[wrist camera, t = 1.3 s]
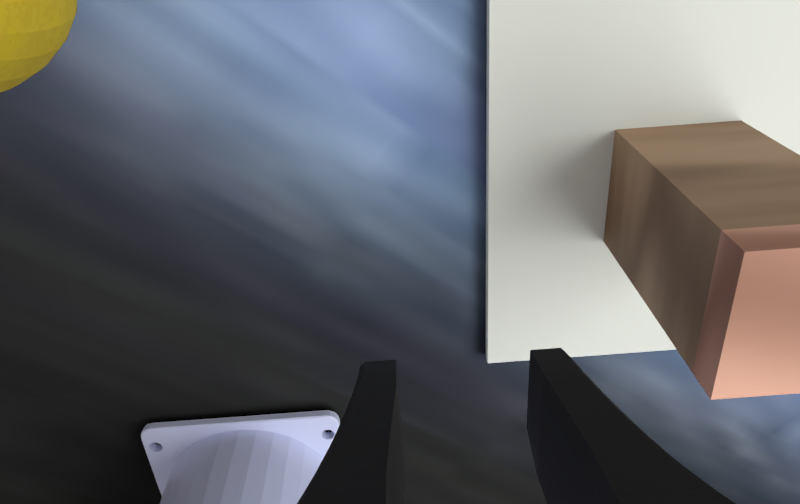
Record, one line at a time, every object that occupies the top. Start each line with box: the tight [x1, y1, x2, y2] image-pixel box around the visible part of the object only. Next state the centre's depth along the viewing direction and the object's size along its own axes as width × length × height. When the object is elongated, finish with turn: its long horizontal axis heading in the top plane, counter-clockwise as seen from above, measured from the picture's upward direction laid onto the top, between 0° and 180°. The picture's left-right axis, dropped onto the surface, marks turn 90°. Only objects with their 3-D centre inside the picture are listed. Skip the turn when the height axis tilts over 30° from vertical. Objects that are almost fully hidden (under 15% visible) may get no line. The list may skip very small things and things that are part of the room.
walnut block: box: [603, 120, 800, 400], centre depth 17 cm, size 4×4×8 cm
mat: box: [486, 0, 800, 363], centre depth 21 cm, size 14×18×1 cm
